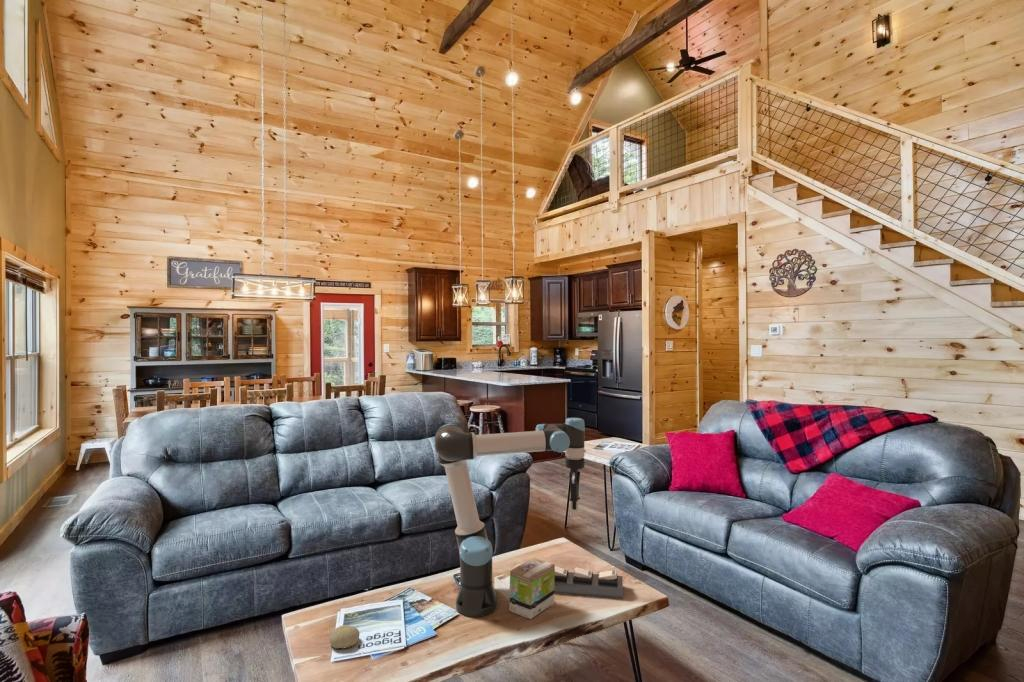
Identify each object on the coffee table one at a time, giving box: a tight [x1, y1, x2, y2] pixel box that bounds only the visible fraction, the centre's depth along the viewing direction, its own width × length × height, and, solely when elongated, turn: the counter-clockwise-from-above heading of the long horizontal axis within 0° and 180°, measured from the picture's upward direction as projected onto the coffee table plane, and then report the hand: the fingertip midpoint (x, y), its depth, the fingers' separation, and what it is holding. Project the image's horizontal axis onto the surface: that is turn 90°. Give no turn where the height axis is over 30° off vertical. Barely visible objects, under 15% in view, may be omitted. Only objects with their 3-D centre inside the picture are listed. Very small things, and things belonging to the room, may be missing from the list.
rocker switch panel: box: [554, 569, 624, 599], centre depth 209 cm, size 30×10×6 cm, turn 79°
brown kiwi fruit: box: [329, 624, 360, 649], centre depth 174 cm, size 9×8×8 cm
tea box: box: [508, 557, 556, 620], centre depth 196 cm, size 15×10×15 cm, turn 143°
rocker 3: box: [598, 569, 618, 580], centre depth 207 cm, size 6×4×2 cm
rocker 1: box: [555, 565, 568, 576], centre depth 211 cm, size 6×4×2 cm
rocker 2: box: [573, 566, 593, 578], centre depth 209 cm, size 6×4×2 cm
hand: (574, 516), depth 215 cm, fingers closed
